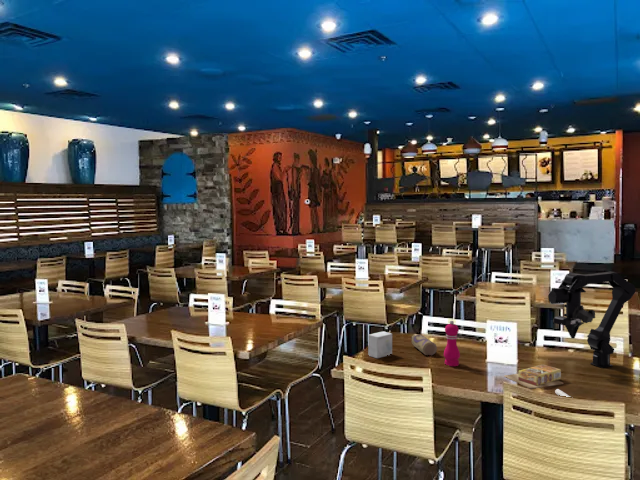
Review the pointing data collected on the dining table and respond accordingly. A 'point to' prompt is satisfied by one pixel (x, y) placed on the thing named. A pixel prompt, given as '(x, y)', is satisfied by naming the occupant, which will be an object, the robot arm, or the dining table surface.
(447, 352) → the pepper mill
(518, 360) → the dining table surface
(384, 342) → the skincare box
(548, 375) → the candy box
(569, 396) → the marker
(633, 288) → the robot arm
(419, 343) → the decorative bottle
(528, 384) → the plate
